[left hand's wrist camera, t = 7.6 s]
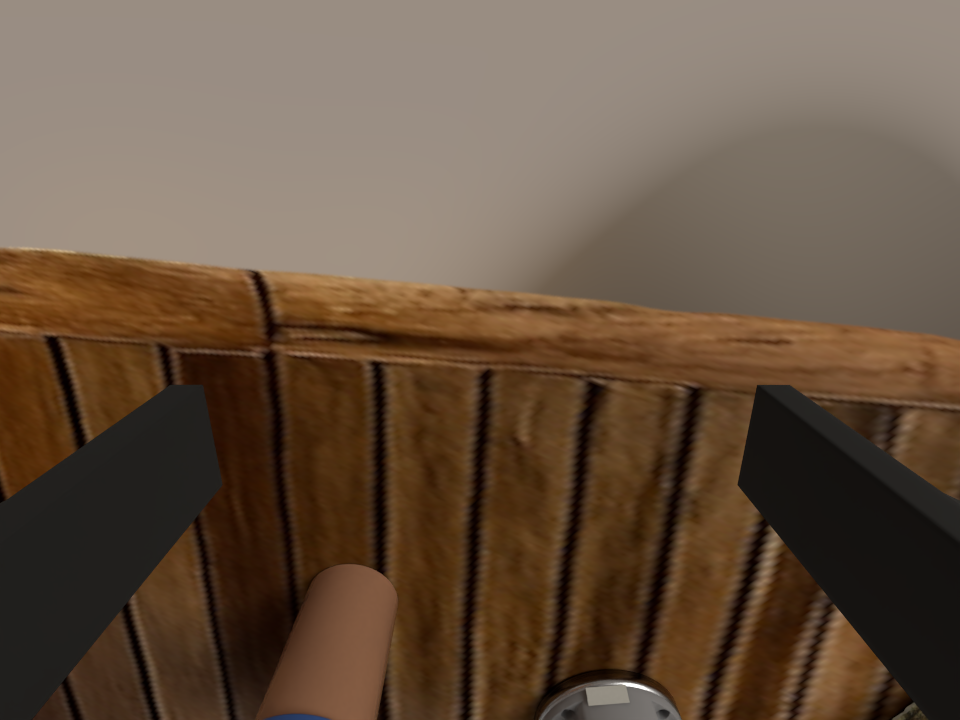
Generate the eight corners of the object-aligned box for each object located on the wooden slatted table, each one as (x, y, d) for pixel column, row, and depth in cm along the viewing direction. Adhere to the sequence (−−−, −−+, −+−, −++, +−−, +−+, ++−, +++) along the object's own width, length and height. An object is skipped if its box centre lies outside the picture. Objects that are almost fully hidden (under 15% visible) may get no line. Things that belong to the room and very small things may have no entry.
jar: (296, 570, 49) (216, 745, 34) (386, 557, 49) (345, 729, 34) (321, 639, 52) (257, 828, 37) (406, 628, 51) (377, 815, 37)
